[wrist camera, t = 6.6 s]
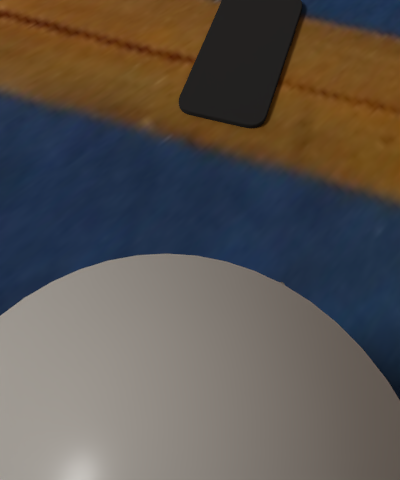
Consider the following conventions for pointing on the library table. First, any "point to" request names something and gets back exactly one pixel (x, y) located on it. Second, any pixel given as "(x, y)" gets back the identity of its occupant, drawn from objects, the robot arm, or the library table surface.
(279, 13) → the phone
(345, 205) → the library table surface
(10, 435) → the white faceted jar
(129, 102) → the library table surface
